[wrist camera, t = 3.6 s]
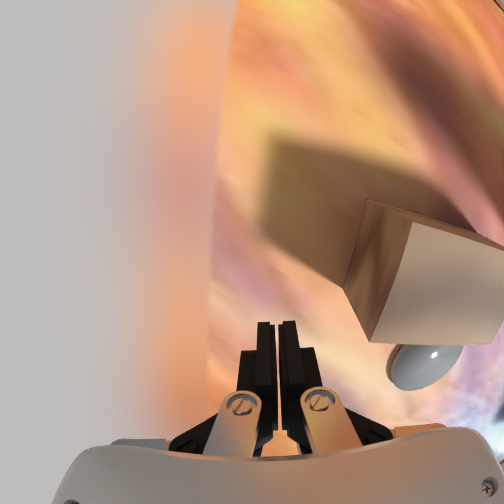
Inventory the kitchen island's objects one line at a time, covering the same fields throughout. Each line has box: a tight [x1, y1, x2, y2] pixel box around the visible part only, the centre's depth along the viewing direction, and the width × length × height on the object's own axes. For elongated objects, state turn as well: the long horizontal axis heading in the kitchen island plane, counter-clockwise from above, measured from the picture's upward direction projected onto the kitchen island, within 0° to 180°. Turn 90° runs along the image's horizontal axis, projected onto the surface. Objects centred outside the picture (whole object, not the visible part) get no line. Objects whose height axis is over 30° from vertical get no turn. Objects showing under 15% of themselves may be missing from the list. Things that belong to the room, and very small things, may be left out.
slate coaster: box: [390, 344, 463, 391], centre depth 22 cm, size 9×9×1 cm
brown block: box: [342, 199, 504, 345], centre depth 16 cm, size 7×12×7 cm, turn 81°
